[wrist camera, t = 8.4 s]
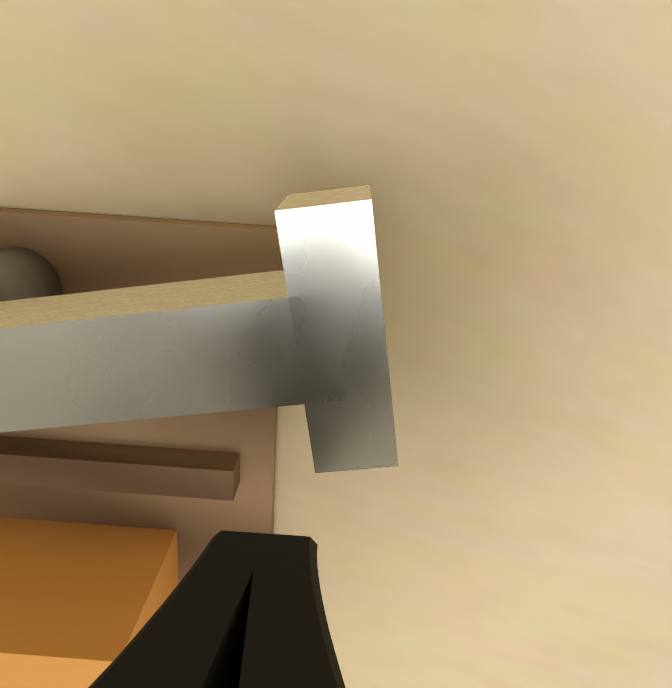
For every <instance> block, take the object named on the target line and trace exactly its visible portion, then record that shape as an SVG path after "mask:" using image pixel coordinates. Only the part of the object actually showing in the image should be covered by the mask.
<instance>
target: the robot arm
mask: <svg viewBox="0 0 672 688" xmlns="http://www.w3.org/2000/svg"><path fill="white" fill-rule="evenodd" d="M88 688H345V685H344V682H343V678H342V675H341V671H340V668H339V664H338V661H337V657H336V654H335V650H334V647H333V643H332V639H331V636H330V632H329V628H328V624H327V620H326V615H325V611H324V606H323V601H322V595H321V590H320V584H319V577H318V568H317V544H316V543H315V542H314V541H313V539H312V538H311V537H307V536H293V535H280V534H266V533H252V532H239V531H225V530H221V531H220V532H219V533H217V534H216V535H215V536H213V538H212V539H211V541H210V542H209V543H208V545H207V546H206V548H205V549H204V551H203V552H202V553H201V555H200V556H199V557H198V559H197V560H196V562H195V563H194V564H193V566H192V567H191V568H190V570H189V571H188V572H187V573H186V575H185V576H184V577H183V579H182V580H181V581H180V582H179V584H178V585H177V586H176V588H175V589H174V590H173V591H172V593H171V594H170V595H169V596H168V598H167V599H166V600H165V601H164V603H163V604H162V605H161V606H160V607H159V609H158V610H157V611H156V612H155V613H154V614H153V616H152V617H151V618H150V619H149V620H148V621H147V623H146V624H145V625H144V626H143V627H142V629H141V630H140V631H139V632H138V633H137V634H136V636H135V637H134V638H133V639H132V640H131V641H130V643H129V644H128V645H127V646H126V647H125V648H124V650H123V651H122V652H121V653H120V654H119V655H118V656H117V657H116V659H115V660H114V661H113V662H112V663H111V664H110V665H109V666H108V667H107V668H106V669H105V670H104V671H103V672H102V674H101V675H100V676H99V677H98V678H97V679H96V680H95V681H94V682H93V683H92V684H91V685H90V686H89V687H88Z"/></svg>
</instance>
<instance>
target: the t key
mask: <svg viewBox="0 0 672 688" xmlns="http://www.w3.org/2000/svg"><path fill="white" fill-rule="evenodd" d="M274 212H275V218H276V224H277V231H278V237H279V244H280V250H281V256H282V263H283V269H284V270H280V271H271V272H262V273H253V274H244V275H235V276H226V277H217V278H208V279H199V280H190V281H181V282H172V283H163V284H154V285H145V286H136V287H127V288H118V289H109V290H100V291H91V292H82V293H73V294H64V295H55V296H46V297H37V298H28V299H20V300H11V301H2V302H0V432H11V431H22V430H32V429H43V428H54V427H65V426H75V425H86V424H97V423H107V422H118V421H129V420H139V419H150V418H161V417H171V416H182V415H193V414H203V413H214V412H225V411H235V410H246V409H257V408H268V407H278V406H289V405H300V404H305V410H306V417H307V423H308V429H309V436H310V442H311V449H312V455H313V461H314V468H315V473H321V472H333V471H345V470H357V469H369V468H381V467H392V466H398V458H397V448H396V438H395V428H394V418H393V408H392V398H391V388H390V378H389V368H388V358H387V348H386V339H385V329H384V319H383V309H382V299H381V289H380V279H379V269H378V259H377V249H376V239H375V229H374V219H373V209H372V199H371V190H370V185H362V186H354V187H346V188H337V189H329V190H321V191H313V192H304V193H296V194H288V195H287V197H286V198H285V199H284V200H283V201H282V203H281V204H280V205H279V206H278V207H277V209H276V210H275V211H274Z"/></svg>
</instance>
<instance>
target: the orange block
mask: <svg viewBox="0 0 672 688" xmlns="http://www.w3.org/2000/svg"><path fill="white" fill-rule="evenodd" d="M178 584H179V576H178V550H177V530H164V529H151V528H138V527H124V526H111V525H98V524H85V523H72V522H58V521H45V520H32V519H19V518H5V517H0V688H88V687H89V686H90V685H91V684H92V683H93V682H94V681H95V680H96V679H97V678H98V677H99V676H100V675H101V674H102V672H103V671H104V670H105V669H106V668H107V667H108V666H109V665H110V664H111V663H112V662H113V661H114V660H115V659H116V657H117V656H118V655H119V654H120V653H121V652H122V651H123V650H124V648H125V647H126V646H127V645H128V644H129V643H130V641H131V640H132V639H133V638H134V637H135V636H136V634H137V633H138V632H139V631H140V630H141V629H142V627H143V626H144V625H145V624H146V623H147V621H148V620H149V619H150V618H151V617H152V616H153V614H154V613H155V612H156V611H157V610H158V609H159V607H160V606H161V605H162V604H163V603H164V601H165V600H166V599H167V598H168V596H169V595H170V594H171V593H172V591H173V590H174V589H175V588H176V586H177V585H178Z"/></svg>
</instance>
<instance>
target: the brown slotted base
mask: <svg viewBox="0 0 672 688" xmlns="http://www.w3.org/2000/svg"><path fill="white" fill-rule="evenodd" d="M280 270H281V250H280V244H279V237H278V231H277V227H276V226H261V225H247V224H232V223H218V222H203V221H188V220H174V219H159V218H145V217H130V216H115V215H101V214H86V213H72V212H57V211H42V210H28V209H13V208H0V302H2V301H11V300H20V299H28V298H37V297H46V296H55V295H64V294H73V293H82V292H91V291H100V290H109V289H118V288H127V287H136V286H145V285H154V284H163V283H172V282H181V281H190V280H199V279H208V278H217V277H226V276H235V275H244V274H253V273H262V272H271V271H280ZM276 419H277V407H268V408H257V409H246V410H235V411H225V412H214V413H203V414H193V415H182V416H171V417H161V418H150V419H139V420H129V421H118V422H107V423H97V424H86V425H75V426H65V427H54V428H43V429H32V430H22V431H11V432H0V517H5V518H19V519H32V520H45V521H58V522H72V523H85V524H98V525H111V526H124V527H138V528H151V529H164V530H177V550H178V576H179V582H180V581H181V580H182V579H183V577H184V576H185V575H186V573H187V572H188V571H189V570H190V568H191V567H192V566H193V564H194V563H195V562H196V560H197V559H198V557H199V556H200V555H201V553H202V552H203V551H204V549H205V548H206V546H207V545H208V543H209V542H210V541H211V539H212V538H213V536H215V535H216V534H217V533H219V532H220V531H221V530H225V531H239V532H252V533H266V534H273V519H274V486H275V453H276Z"/></svg>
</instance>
